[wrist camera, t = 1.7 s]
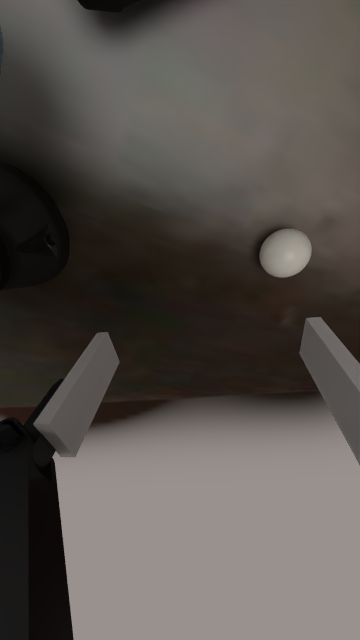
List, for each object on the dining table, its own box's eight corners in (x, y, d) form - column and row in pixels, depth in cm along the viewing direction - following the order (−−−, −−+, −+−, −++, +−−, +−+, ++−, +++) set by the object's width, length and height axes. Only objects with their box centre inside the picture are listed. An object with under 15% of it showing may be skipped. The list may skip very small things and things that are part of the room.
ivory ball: (247, 243, 28) (255, 255, 23) (289, 214, 26) (307, 221, 21) (267, 276, 30) (279, 293, 25) (308, 251, 28) (328, 265, 23)
